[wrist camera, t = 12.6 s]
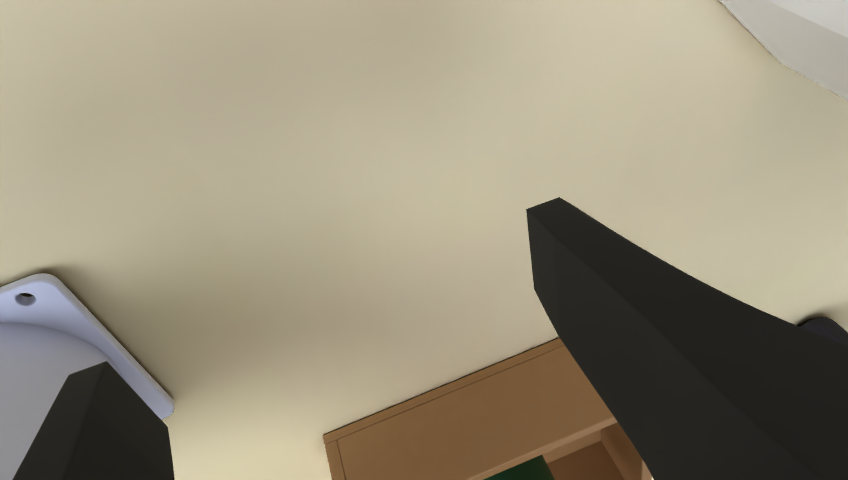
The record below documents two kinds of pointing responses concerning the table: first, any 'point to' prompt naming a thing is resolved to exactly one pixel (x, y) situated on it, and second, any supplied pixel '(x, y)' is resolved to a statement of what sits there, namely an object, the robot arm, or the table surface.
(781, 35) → the medicine bottle
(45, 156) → the table surface
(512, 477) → the bottle
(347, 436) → the box
